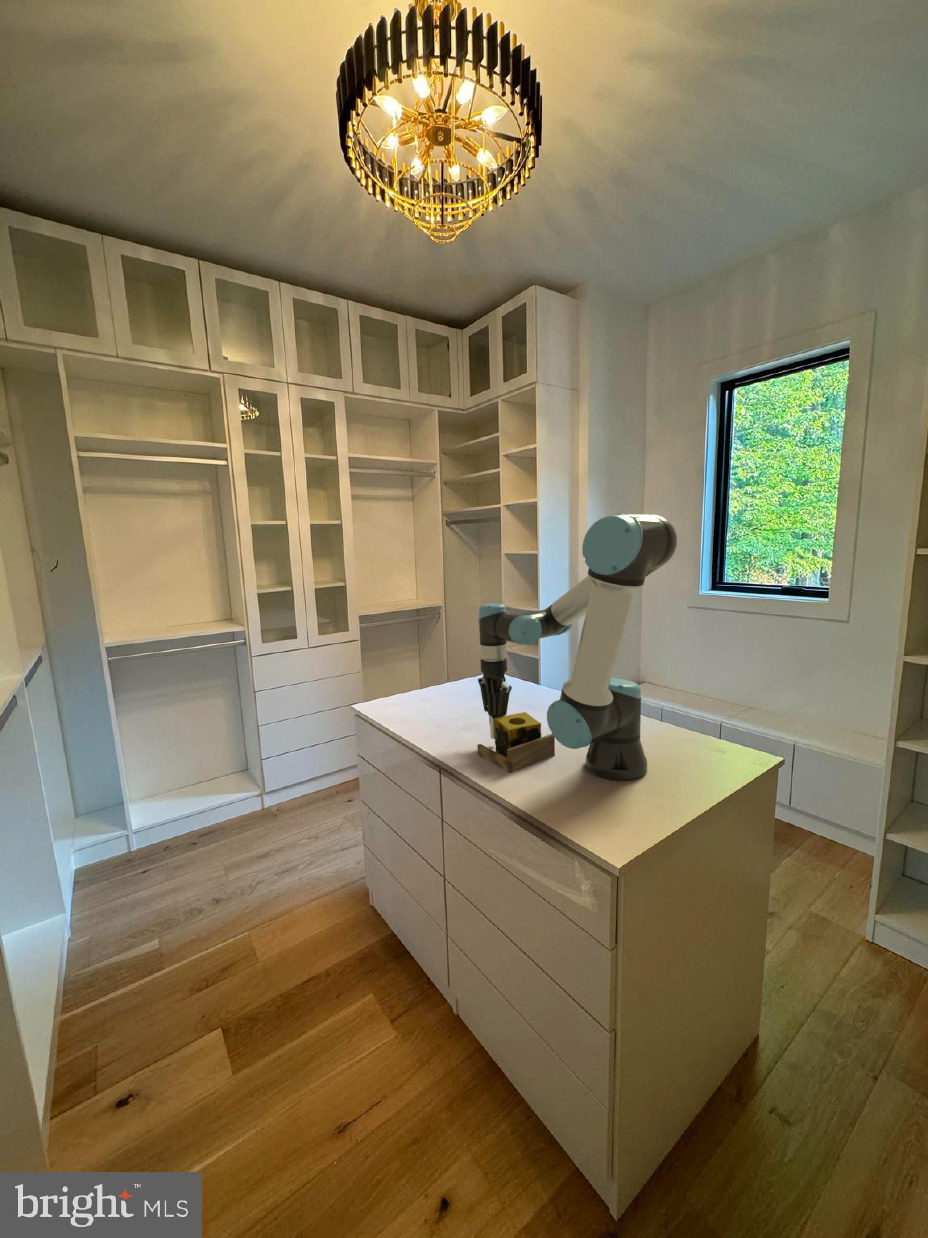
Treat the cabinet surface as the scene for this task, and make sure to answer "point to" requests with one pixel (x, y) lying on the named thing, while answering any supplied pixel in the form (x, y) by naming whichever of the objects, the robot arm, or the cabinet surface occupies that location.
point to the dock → (521, 753)
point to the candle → (515, 731)
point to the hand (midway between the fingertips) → (495, 737)
